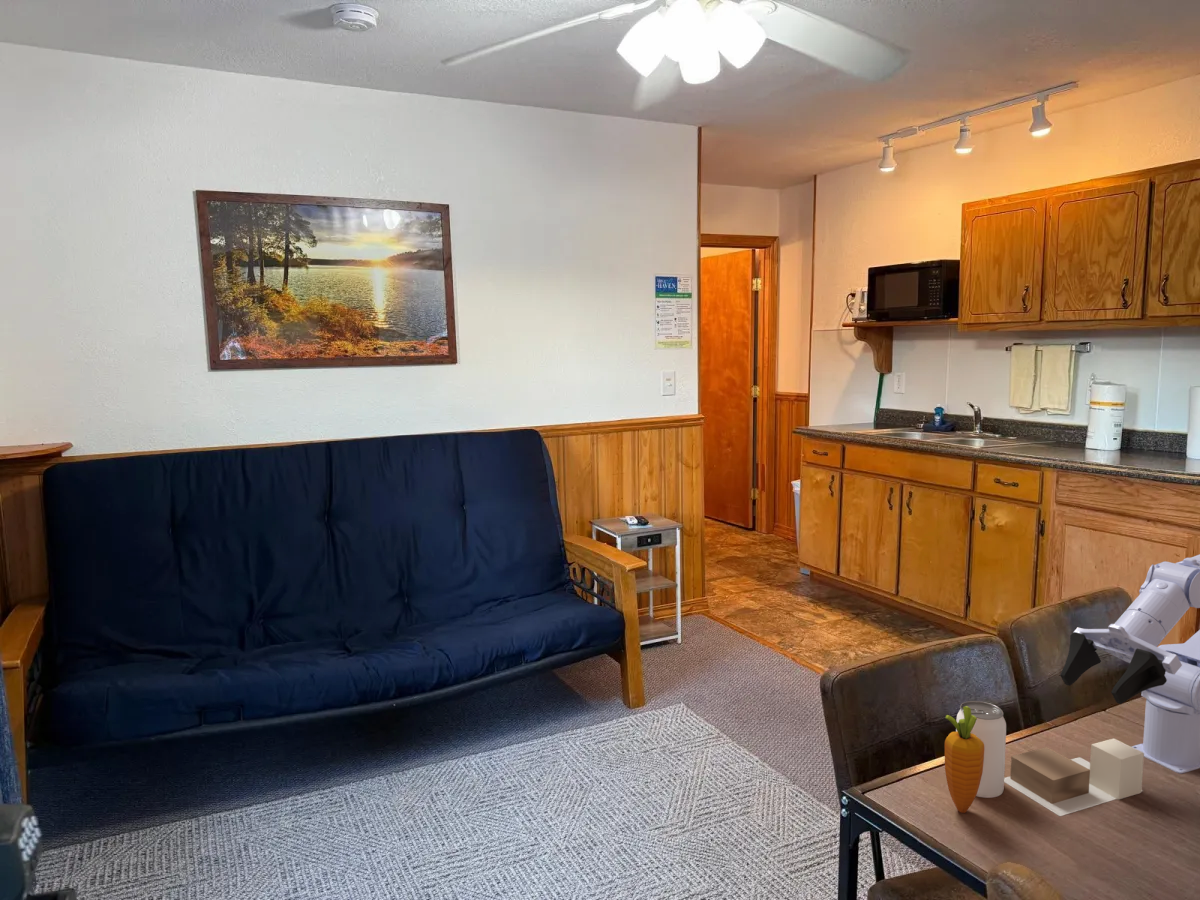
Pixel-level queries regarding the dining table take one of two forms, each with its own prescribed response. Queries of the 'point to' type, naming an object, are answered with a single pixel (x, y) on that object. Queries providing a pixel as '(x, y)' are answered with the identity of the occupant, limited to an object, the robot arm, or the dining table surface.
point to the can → (989, 745)
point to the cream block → (1116, 768)
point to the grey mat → (1070, 804)
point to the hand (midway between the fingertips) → (1089, 689)
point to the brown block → (1050, 775)
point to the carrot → (963, 761)
